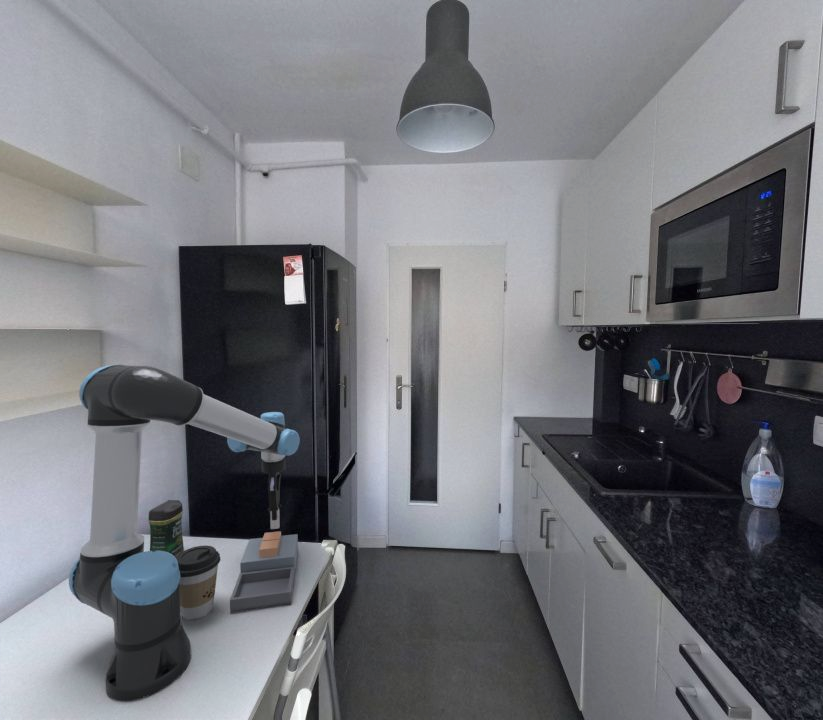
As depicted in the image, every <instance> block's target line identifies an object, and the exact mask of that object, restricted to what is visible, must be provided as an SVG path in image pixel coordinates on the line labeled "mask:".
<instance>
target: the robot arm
mask: <svg viewBox="0 0 823 720" xmlns="http://www.w3.org/2000/svg"><path fill="white" fill-rule="evenodd" d="M78 393H79V395H78V396H79V400H80V402H81V405H82V406H83V407H84V408H85V409H86V410H87V424H86V425H87V427H88V428H90V429H91V430H92V431H94V433H95V442H94V458H93V459H94V461H93V462H94V463H93V479H92V496H91V514H90V516H91V517H90V518H91V519H90V530H89V532H90V534H89V540H88V541H87V542H86V543H85V544H84V545H83V546H82V547H81V548H80V552H79V553H80V554H79V557H78V559H77V561H76V562H74V563H73V565H72V567H71V569H70V572H69V575H68V586H69V590H70V592H71V593H72V595H73V596H74V597H75V598H76V599H77V600H78V601H79V602H80V603H82V604H85V605H86V606H87V607H88V606H89V607H91V608H93V609H95V610H96V611H99V612H100V613H102V614H104V615H106V617H109V618H111V619H112V621H113V630H114V648H113V652H112V655H111V658H110V660H109V662H108V663H109V664H108V666H107V669H106V672H105V678H104V679H105V680H104V681H105V693H106V695H107V696H108V697H109V698H111V699H112V700H114V701H119V702H131V701H137V700H141V699H144V698H147V697H149V696H152V695H154V694H156V693H158V692H160V691H161V690H163V689H166V688H167V687H168V686H169V685H171V684H172V683H173V682H175V681H176V680H177V679H178V678H179V677H180V676H181V675H182V674H183V673H184V672H185V670H186V669H187V667H188V666H189V664H190V661H191V659H192V658H191V657H192V646H191V641H190V639H189V637H188V634H187V633H186V631H185V628H184V626H183V625H182V622H181V621H182V619H181V618H182V614H181V611H180V572H179V566H178V561H177V559H176V558H175V556H173V555H172V554H170V553H168V552H165V551H155V552H152V551H150V550H147V551H145V536H144V535H142V534H141V533H139V532H138V519H139V518H138V516H139V515H138V514H139V513H138V512H139V496H140V477H141V475H140V474H141V459H142V457H141V456H142V438H143V431H144V429H145V428H146V427H147V426H148V425H149V424H151V421H158V422H162V423H163V422H164V423H169V424H172V425H175V426H179V427H181V426H186V425H190V426H192V427H195V428H199V429H201V430H204V431H207V432H211V433H212V434H213V433H214V434H217V435H219V436H222V437H225V438H227V439H226V440H227V441H226V442H227V445H228V448H229V449H230V450H231V451H232V452H234V453H240V452H245V451H247V450H248V451H249V450H250V451H255V452H256V451H257V452H261V454H260V456H261V457H260V458H261V460H262V461H261V471H262V472H263V473H264V474H268V475H267V478H266V483H267V488H266V489H267V493H268V508H267V511H268V512H269V516H270V517H269V519H270V520H269V521H270V524H269V525H270V530H276V529H280V525H281V524H280V508H281V507H282V504H280V501H281V500H280V499H281V498H280V495H281V494H280V493H281V492H280V487H281V478H282V476H281V475H282V474H281V473H280V472H283V471H285V470H286V468H287V467H286V466H287V465H286V458H285V457H286V456H291V455H294V454H295V453H296V452H297V450H298V449H299V446H300V440H301V439H300V435H299V433H298V432H297V431H296V430H294V429H290V428H286V424H285V423H286V421H285V415H284V414H283V413H282V412H280V411H279V412H278V411H271V412H263V413H262V414H260V418H259V417H257V416H255V415H252V414H250V413H248V412H246V411H244V410H241V409H239V408H236V407H234V406H231V405H230V404H227V403H225V402H223V401H221V400H218V399H216V398H213V397H211V396H209V395H208V394H207V395H206V394H204V391H203V389H202V388H201V387H199V386H197V385H195V384H193V383H191V382H188V381H186V380H185V379H182V378H180V377H177V376H176V375H174V374H172V373H170V372H167V371H165V370H163V369H161V368H157V367H154V366H147V365H125V364H112V365H106V366H105V365H104V366H101V367H98V368H96V369H95V370H92V372H90V373H89V374H88V375H87V376H86V377H85V378H84V379H83V380H82V383H81V384H80V387H79V392H78Z"/></svg>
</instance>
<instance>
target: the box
mask: <svg viewBox="0 0 823 720" xmlns="http://www.w3.org/2000/svg"><path fill="white" fill-rule="evenodd" d="M294 583H295V576H294V567H287V568H279V569H271V570H263V571H255V572H246V573H241V572H240V573H239V575H238V577H237V581H236V582H235V585H234V589H232V593H231V596H230V598H229V613H230V614H235V613H241V612H242V613H243V612H249V611H256V610H263V609H271V608H275V607H276V608H277V607H284V606H289V605H290V606H291V605H292V600H293V598H292V597H293V591H294Z"/></svg>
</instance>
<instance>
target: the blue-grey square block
mask: <svg viewBox="0 0 823 720" xmlns="http://www.w3.org/2000/svg"><path fill="white" fill-rule="evenodd" d="M248 539H249V538H248ZM262 540H263V537H257V538H250V539H249V540H248V542H247V545H246V547H245V550H244V553H243V555H242V557H241V560H240V562H239V563H240V564H239V565H240V568H239V569H240V571H239V572H240V573H246V572H255V571H263V570H271V569H279V568H287V567H294V577H295V576H296V570H297V560H298V554H299V553H298V552H299V550H298V549H299V541H298V540H299V538H298V533H294V534H287V535H285V534H284V535H281V541H280V546H279V550H278V555H277V556H272V557H264V558H259V549H260V546H261V543H262Z"/></svg>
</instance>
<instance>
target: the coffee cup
mask: <svg viewBox="0 0 823 720" xmlns="http://www.w3.org/2000/svg"><path fill="white" fill-rule="evenodd" d="M176 559H177V561H178V566H179V572H180V614H181V617H182V618H183V619H184V620H186V621H195V620H198V619H201V618H203V617H205V616H207V615H208V614H210V613H211V612H212V610H213V607H214V604H215V596H216V595H215V594H216V588H217V587H216V586H217V578H218V577H217V576H218V570H219V569H218V567H219V564H220V562H221V554H220V553H219V551H218V550H217V549H216V547H214V546H211V545H197V546H193V547H189V548H187V549H184V551H183V552H182V553H180V554H179V555H178V556H177V557H176Z"/></svg>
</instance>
